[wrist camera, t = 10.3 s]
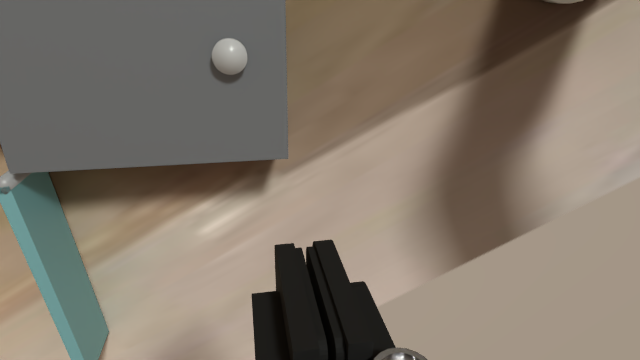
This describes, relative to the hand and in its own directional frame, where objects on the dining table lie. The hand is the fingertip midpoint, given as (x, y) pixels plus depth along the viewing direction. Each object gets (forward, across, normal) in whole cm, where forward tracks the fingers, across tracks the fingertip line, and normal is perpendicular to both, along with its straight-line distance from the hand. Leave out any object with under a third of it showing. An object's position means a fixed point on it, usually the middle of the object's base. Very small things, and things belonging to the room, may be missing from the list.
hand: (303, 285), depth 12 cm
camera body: (+27, +9, -2) cm, 29 cm away
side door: (+27, +18, +14) cm, 35 cm away
